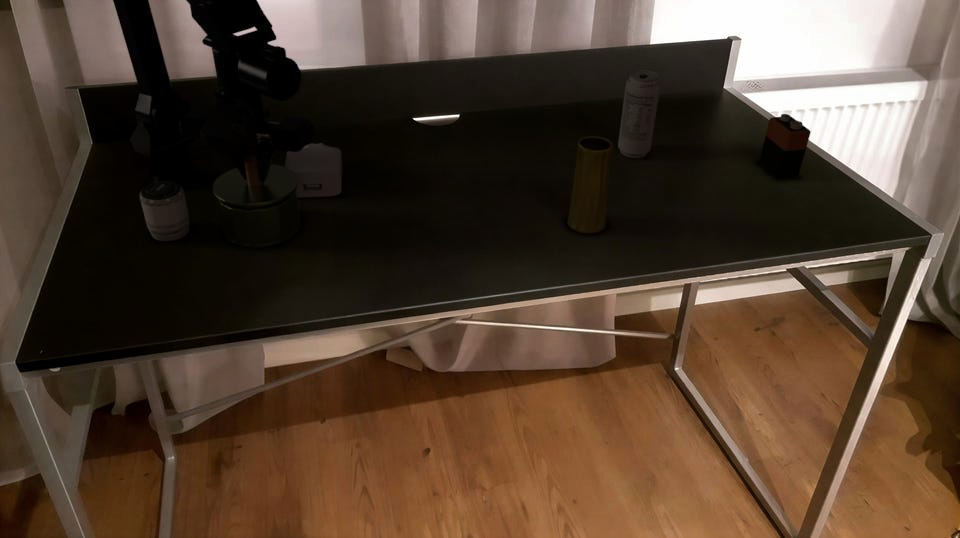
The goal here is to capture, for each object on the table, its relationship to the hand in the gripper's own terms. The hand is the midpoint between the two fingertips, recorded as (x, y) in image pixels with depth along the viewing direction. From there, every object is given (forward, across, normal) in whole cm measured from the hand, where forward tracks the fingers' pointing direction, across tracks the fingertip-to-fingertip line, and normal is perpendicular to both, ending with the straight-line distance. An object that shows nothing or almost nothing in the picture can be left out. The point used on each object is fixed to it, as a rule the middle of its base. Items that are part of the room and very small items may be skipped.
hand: (255, 179), depth 120 cm
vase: (+9, +49, +15) cm, 52 cm away
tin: (+8, 0, 0) cm, 9 cm away
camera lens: (+9, -13, -5) cm, 17 cm away
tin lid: (+1, 0, 0) cm, 1 cm away
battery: (+9, +80, +43) cm, 91 cm away
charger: (+9, +1, +18) cm, 20 cm away
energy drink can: (+9, +54, +43) cm, 70 cm away
